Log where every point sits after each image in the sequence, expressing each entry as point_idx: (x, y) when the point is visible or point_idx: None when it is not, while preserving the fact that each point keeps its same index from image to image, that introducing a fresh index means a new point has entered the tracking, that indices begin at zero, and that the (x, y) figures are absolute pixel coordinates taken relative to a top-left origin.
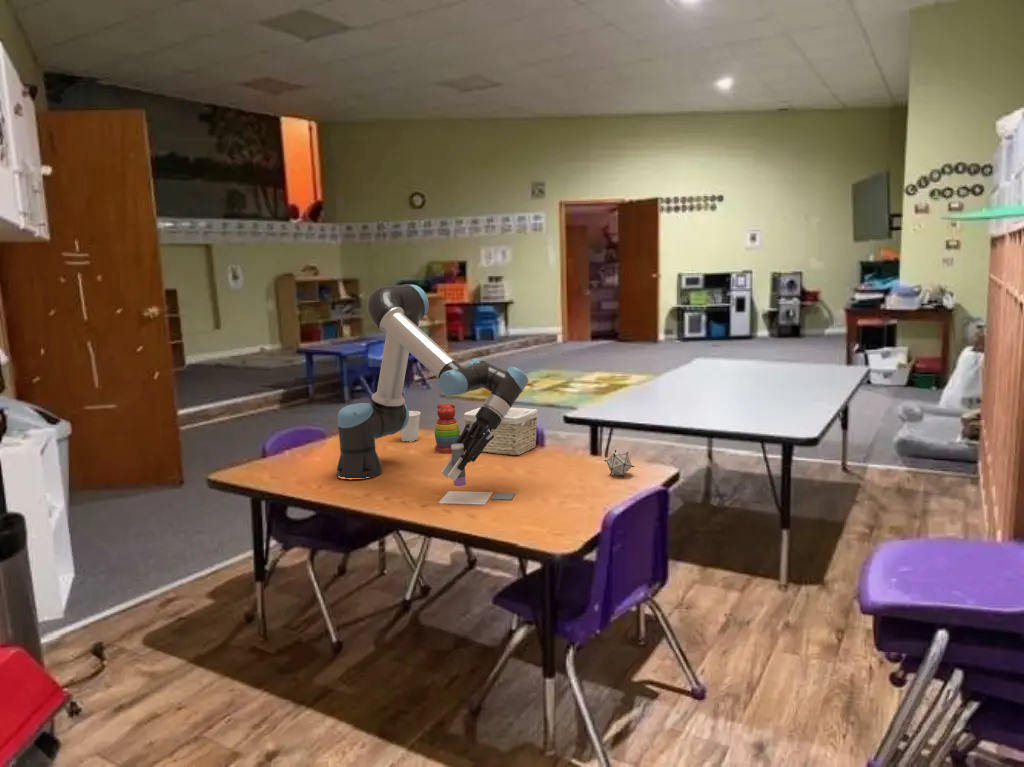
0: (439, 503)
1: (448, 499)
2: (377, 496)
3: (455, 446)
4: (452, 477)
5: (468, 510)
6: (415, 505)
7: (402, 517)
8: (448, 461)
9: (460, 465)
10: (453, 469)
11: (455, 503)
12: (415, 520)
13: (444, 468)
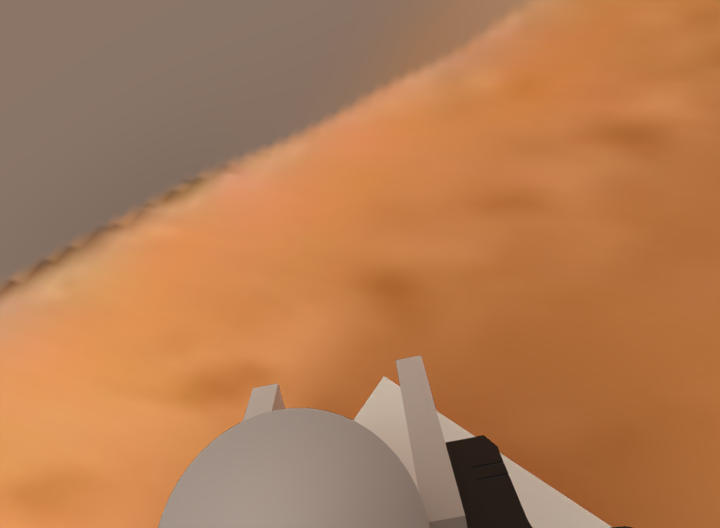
0: (380, 383)
1: None
2: (695, 98)
3: (191, 464)
4: None
5: (145, 516)
6: (423, 247)
7: (272, 156)
8: (438, 436)
9: None
10: None
11: None
12: (193, 200)
13: (408, 385)
